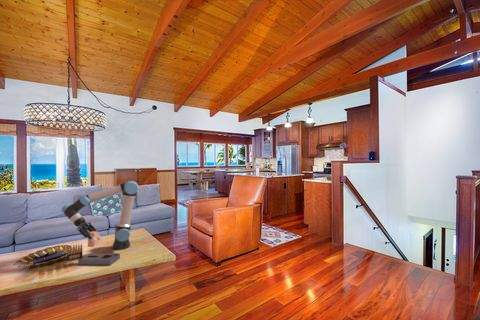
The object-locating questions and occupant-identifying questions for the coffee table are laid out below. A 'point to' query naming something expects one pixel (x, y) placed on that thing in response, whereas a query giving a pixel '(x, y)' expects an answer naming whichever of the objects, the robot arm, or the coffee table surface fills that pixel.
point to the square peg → (95, 235)
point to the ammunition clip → (74, 253)
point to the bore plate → (99, 259)
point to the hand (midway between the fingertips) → (97, 240)
